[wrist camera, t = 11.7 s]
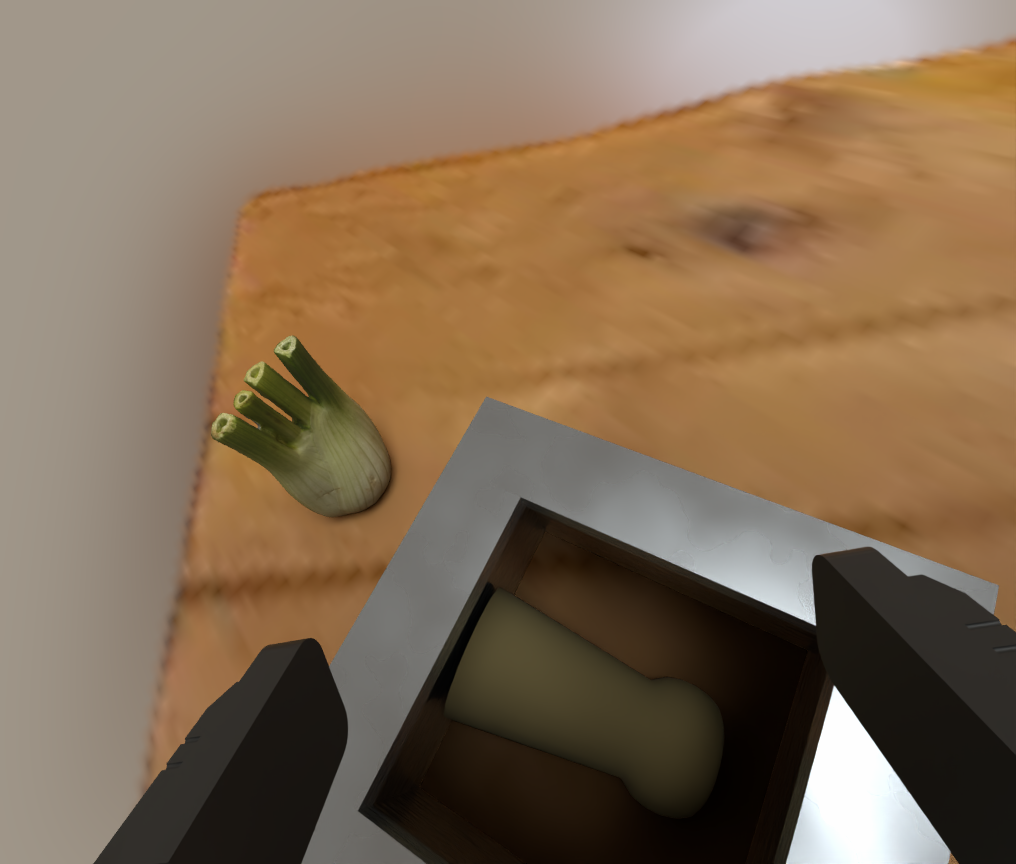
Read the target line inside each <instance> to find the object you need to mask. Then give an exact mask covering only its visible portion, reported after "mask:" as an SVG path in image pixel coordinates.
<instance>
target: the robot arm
mask: <svg viewBox="0 0 1016 864" xmlns="http://www.w3.org/2000/svg"><path fill="white" fill-rule="evenodd" d="M812 580H813V593H814V606H815V619H816V633H817V643H818V648H819V652H820V655H821V658H822V661H823V664H824V667H825V669H826V671H827V673H828V675H829V677H830V679H831V681H832V683H833V684H834V686H835V687H836V689H837V690H838V692H839V693H840V694H841V696H842V697H843V699H844V700H845V702H846V703H847V704H848V706H849V707H850V709H851V710H852V712H853V713H854V714H855V716H856V717H857V719H858V720H859V722H860V723H861V724H862V726H863V727H864V729H865V730H866V732H867V733H868V734H869V736H870V737H871V739H872V740H873V742H874V743H875V744H876V746H877V747H878V749H879V750H880V752H881V753H882V754H883V756H884V757H885V759H886V760H887V762H888V763H889V764H890V766H891V767H892V769H893V770H894V772H895V773H896V774H897V776H898V777H899V779H900V780H901V782H902V783H903V784H904V786H905V787H906V789H907V790H908V792H909V793H910V794H911V796H912V797H913V799H914V800H915V802H916V803H917V804H918V806H919V807H920V809H921V810H922V812H923V813H924V814H925V816H926V817H927V819H928V820H929V822H930V823H931V824H932V826H933V827H934V829H935V830H936V832H937V833H938V834H939V836H940V837H941V839H942V840H943V842H944V843H945V844H946V846H947V847H948V849H949V850H950V852H951V853H952V854H953V856H954V857H955V859H956V860H957V862H958V863H959V864H1016V632H1015V631H1013V630H1012V629H1011V628H1010V627H1008V626H1007V625H1001V623H1000V621H999V619H998V618H997V617H995V616H994V615H993V614H992V613H990V612H989V611H988V610H986V609H985V608H984V607H983V606H981V605H980V604H979V603H977V602H976V601H975V600H974V599H972V598H971V597H970V596H968V595H967V594H966V593H964V592H962V591H959V590H957V589H955V588H952V587H950V586H948V585H946V584H943V583H941V582H939V581H937V580H934V579H932V578H930V577H927V576H925V575H923V574H920V575H914V576H907V575H906V574H904V573H903V572H902V571H901V570H900V569H899V568H897V567H896V566H895V565H894V564H893V563H892V562H890V561H889V560H888V559H887V558H886V557H885V556H883V555H882V554H881V553H880V552H879V551H877V550H876V549H875V548H872V547H862V548H856V549H850V550H844V551H838V552H832V553H826V554H820V555H816V556H815V557H814V558H813V561H812ZM347 739H348V718H347V713H346V709H345V706H344V704H343V701H342V699H341V696H340V693H339V691H338V688H337V686H336V683H335V681H334V678H333V676H332V673H331V670H330V668H329V665H328V663H327V660H326V658H325V655H324V652H323V650H322V648H321V646H320V644H319V643H318V642H317V641H316V640H315V639H313V638H308V639H302V640H296V641H290V642H284V643H278V644H272V645H268V646H266V647H264V648H263V649H262V650H261V652H260V653H259V654H258V656H257V657H256V659H255V660H254V661H253V663H252V664H251V666H250V667H249V668H248V670H247V671H246V673H245V674H244V676H243V677H242V678H241V680H240V681H239V682H236V683H235V684H234V685H233V686H232V687H231V688H229V689H228V690H227V691H226V692H225V693H224V694H223V695H222V696H221V697H219V698H218V699H217V700H216V701H215V702H214V703H213V704H212V705H210V706H209V707H208V708H207V709H206V711H205V712H204V713H203V715H202V716H201V717H200V719H199V720H198V722H197V723H196V724H195V726H194V727H193V728H192V730H191V731H190V732H189V734H188V735H187V737H186V738H185V740H186V741H185V744H181V745H180V746H179V747H178V749H177V750H176V752H175V753H174V754H173V756H172V757H171V758H170V760H169V761H168V763H167V768H166V770H162V771H161V772H160V773H159V775H158V776H157V778H156V779H155V780H154V782H153V783H152V784H151V786H150V787H149V788H148V790H147V791H146V793H145V794H144V795H143V797H142V798H141V799H140V801H139V802H138V804H137V805H136V806H135V808H134V809H133V810H132V812H131V813H130V814H129V816H128V817H127V819H126V820H125V821H124V823H123V824H122V825H121V827H120V828H119V829H118V831H117V832H116V834H115V835H114V836H113V838H112V839H111V841H110V842H109V843H108V845H107V846H106V847H105V849H104V850H103V851H102V853H101V854H100V855H99V857H98V858H97V860H96V861H95V862H94V864H301V863H302V861H303V858H304V856H305V853H306V851H307V848H308V845H309V843H310V840H311V838H312V835H313V832H314V830H315V827H316V825H317V822H318V820H319V817H320V814H321V812H322V809H323V807H324V804H325V802H326V799H327V796H328V794H329V791H330V789H331V786H332V784H333V781H334V778H335V776H336V773H337V771H338V768H339V765H340V763H341V760H342V758H343V755H344V752H345V749H346V745H347Z"/></svg>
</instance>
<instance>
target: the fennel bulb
mask: <svg viewBox="0 0 1016 864" xmlns="http://www.w3.org/2000/svg"><path fill="white" fill-rule="evenodd" d="M274 353H275V354H276V355H277V357H278V358H279V359H280V360H281V362H282V363H283V364H284V366H285V367H286V368H287V369H288V371H289V372H290V373H291V374H292V376H293V377H294V378H295V379H296V380H297V381H298V382H299V384H300V385H301V386H302V387H303V389H304V390H305V391H306V392H307V394H308V395H309V397H307V396H305V394H303V393H302V392H301V391H300V390H299V389H297V388H296V387H295V386H294V385H292V384H291V383H289V382H288V381H287V380H285V379H284V378H283V377H282V376H281V375H280V374H279V373H277V372H276V371H275V370H274V369H272V368H271V367H270V366H269V365H267V364H266V363H265V362H259V363H258V364H256V365H254V366H253V367H251V368H250V369H249V370H248V371H247V374H246V377H245V378H244V382H246V383H247V384H248V385H249V386H250V387H252V388H253V389H255V390H256V391H257V392H259V393H260V395H261V396H263V397H265V398H267V399H268V400H270V401H271V402H273V403H274V404H275V405H276V406H278V407H279V408H280V409H282V410H283V411H284V412H285V413H287V414H288V415H289V416H291V417H292V422H291V421H290V420H288V419H287V418H286V417H284V416H283V415H281V414H280V413H278V412H277V411H275V410H274V409H273V408H271V407H270V406H269V405H267V404H266V403H264V402H263V401H262V400H261V399H260V398H258V397H257V396H256V395H255V394H254V393H253V392H251V391H244V390H242V391H241V392H239V393H238V394H237V395H236V396H235V399H234V407H235V408H236V410H238V411H239V412H240V413H241V414H243V415H244V416H245V417H246V418H248V419H251V420H252V421H254V422H255V423H256V424H257V425H258V428H256V427H254V426H252V425H250V424H248V423H247V422H245V421H243V420H242V419H240V418H238V417H236V416H234V415H232V414H226V413H221V414H220V415H219V416H218V417H217V419H216V421H214V422H213V423H212V432H211V436H212V438H213V439H214V440H216V441H218V442H220V443H222V444H224V445H226V446H228V447H230V448H232V449H235V450H236V451H238V452H239V453H241V454H243V455H245V456H247V457H248V458H251V459H252V460H254V461H255V462H257V463H259V464H260V465H262V466H263V467H265V468H266V469H267V470H268V471H270V472H271V474H272V475H273V476H274V477H275V478H276V479H277V481H279V482H280V484H281V485H282V486H283V487H284V488H285V489H286V491H287V492H288V493H289V494H290V495H291V496H292V497H293V498H295V499H296V500H297V501H298V502H300V503H301V504H303V505H304V506H305V507H307V508H309V509H310V510H312V511H314V512H316V513H318V514H321V515H323V516H326V517H338V516H342V515H346V514H349V513H357V512H360V511H363V510H365V509H367V508H369V506H371V505H373V504H375V503H376V502H377V500H378V499H379V498H380V496H381V495H382V494H383V492H384V491H385V489H386V487H387V485H388V483H389V480H390V476H391V463H390V458H389V455H388V452H387V449H386V447H385V444H384V442H383V440H382V438H381V436H380V434H379V432H378V430H377V428H376V426H375V425H374V424H373V422H372V421H371V419H370V418H369V416H368V415H367V414H366V413H365V412H364V410H363V409H362V408H361V407H360V406H359V405H358V404H357V403H356V402H355V401H354V400H353V399H351V398H350V397H349V396H348V395H347V394H346V393H345V392H344V391H343V390H342V389H341V388H340V387H339V386H338V385H337V384H336V383H335V382H334V381H333V380H332V379H331V378H330V377H329V376H328V375H327V374H326V373H325V372H324V371H323V370H322V369H321V368H320V366H319V365H318V364H317V363H316V361H315V360H314V359H313V358H312V357H311V355H310V354H309V353H308V352H307V350H306V349H305V348H304V346H303V345H302V344H301V342H300V341H299V340H298V339H297V337H295V336H289V337H287V338H286V339H285V340H283V341H281V342H280V343H279V344H278V345H277V346H276V348H275V349H274Z"/></svg>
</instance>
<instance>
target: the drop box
mask: <svg viewBox="0 0 1016 864" xmlns="http://www.w3.org/2000/svg"><path fill="white" fill-rule="evenodd" d="M544 532H547V533H549V534H552V535H554V536H556V537H558V538H560V539H563V540H565V541H567V542H569V543H572V544H574V545H576V546H578V547H580V548H583V549H585V550H587V551H589V552H591V553H594V554H596V555H598V556H600V557H602V558H605V559H607V560H609V561H611V562H613V563H616V564H618V565H620V566H622V567H625V568H627V569H629V570H631V571H633V572H636V573H638V574H640V575H642V576H644V577H647V578H649V579H651V580H653V581H655V582H658V583H660V584H662V585H664V586H667V587H669V588H671V589H673V590H675V591H678V592H680V593H682V594H684V595H686V596H689V597H691V598H693V599H695V600H697V601H700V602H702V603H704V604H706V605H708V606H711V607H713V608H715V609H717V610H720V611H722V612H724V613H726V614H728V615H731V616H733V617H735V618H737V619H739V620H742V621H744V622H746V623H748V624H750V625H753V626H755V627H757V628H759V629H761V630H764V631H766V632H768V633H770V634H773V635H775V636H777V637H779V638H781V639H784V640H786V641H788V642H790V643H792V644H795V645H797V646H799V647H801V648H803V649H806V650H808V652H807V655H806V658H805V662H804V665H803V669H802V672H801V676H800V679H799V682H798V686H797V689H796V693H795V696H794V699H793V703H792V706H791V710H790V713H789V717H788V720H787V723H786V727H785V730H784V734H783V737H782V740H781V744H780V747H779V751H778V754H777V758H776V761H775V764H774V768H773V771H772V775H771V778H770V781H769V785H768V788H767V792H766V795H765V798H764V802H763V805H762V809H761V812H760V816H759V819H758V822H757V826H756V829H755V833H754V836H753V839H752V843H751V846H750V850H749V853H748V857H747V860H746V863H745V864H948V863H949V857H950V850H949V849H948V847H947V846H946V844H945V843H944V842H943V840H942V839H941V837H940V836H939V834H938V833H937V832H936V830H935V829H934V827H933V826H932V824H931V823H930V822H929V820H928V819H927V817H926V816H925V814H924V813H923V812H922V810H921V809H920V807H919V806H918V804H917V803H916V802H915V800H914V799H913V797H912V796H911V794H910V793H909V792H908V790H907V789H906V787H905V786H904V784H903V783H902V782H901V780H900V779H899V777H898V776H897V774H896V773H895V772H894V770H893V769H892V767H891V766H890V764H889V763H888V762H887V760H886V759H885V757H884V756H883V754H882V753H881V752H880V750H879V749H878V747H877V746H876V744H875V743H874V742H873V740H872V739H871V737H870V736H869V734H868V733H867V732H866V730H865V729H864V727H863V726H862V724H861V723H860V722H859V720H858V719H857V717H856V716H855V714H854V713H853V712H852V710H851V709H850V707H849V706H848V704H847V703H846V702H845V700H844V699H843V697H842V696H841V694H840V693H839V692H838V690H837V689H836V687H835V686H834V684H833V683H832V681H831V679H830V677H829V675H828V673H827V671H826V669H825V667H824V664H823V661H822V658H821V655H820V652H819V648H818V643H817V633H816V619H815V606H814V593H813V580H812V561H813V558H814V557H815V556H816V555H820V554H826V553H832V552H838V551H844V550H850V549H856V548H862V547H872V548H875V549H876V550H877V551H879V552H880V553H881V554H882V555H883V556H885V557H886V558H887V559H888V560H889V561H890V562H892V563H893V564H894V565H895V566H896V567H897V568H899V569H900V570H901V571H902V572H903V573H904V574H906V575H907V576H914V575H920V574H923V575H925V576H927V577H930V578H932V579H934V580H937V581H939V582H941V583H943V584H946V585H948V586H950V587H952V588H955V589H957V590H959V591H962V592H964V593H966V594H967V595H968V596H970V597H971V598H972V599H974V600H975V601H976V602H977V603H979V604H980V605H981V606H983V607H984V608H985V609H986V610H988V611H989V612H990V613H992V614H993V615H994V610H995V605H996V599H997V594H998V588H999V585H996V584H993V583H991V582H988V581H985V580H983V579H980V578H977V577H974V576H972V575H969V574H966V573H964V572H961V571H958V570H955V569H953V568H950V567H947V566H945V565H942V564H939V563H936V562H934V561H931V560H928V559H926V558H923V557H920V556H917V555H915V554H912V553H909V552H907V551H904V550H901V549H898V548H896V547H893V546H890V545H888V544H885V543H882V542H879V541H877V540H874V539H871V538H869V537H866V536H863V535H860V534H858V533H855V532H852V531H850V530H847V529H844V528H841V527H839V526H836V525H833V524H831V523H828V522H825V521H822V520H820V519H817V518H814V517H812V516H809V515H806V514H803V513H801V512H798V511H795V510H793V509H790V508H787V507H784V506H782V505H779V504H776V503H774V502H771V501H768V500H765V499H763V498H760V497H757V496H755V495H752V494H749V493H746V492H744V491H741V490H738V489H736V488H733V487H730V486H727V485H725V484H722V483H719V482H717V481H714V480H711V479H708V478H706V477H703V476H700V475H698V474H695V473H692V472H689V471H687V470H684V469H681V468H679V467H676V466H673V465H670V464H668V463H665V462H662V461H660V460H657V459H654V458H651V457H649V456H646V455H643V454H641V453H638V452H635V451H632V450H630V449H627V448H624V447H622V446H619V445H616V444H613V443H611V442H608V441H605V440H603V439H600V438H597V437H594V436H592V435H589V434H586V433H584V432H581V431H578V430H575V429H573V428H570V427H567V426H565V425H562V424H559V423H556V422H554V421H551V420H548V419H546V418H543V417H540V416H537V415H535V414H532V413H529V412H527V411H524V410H521V409H518V408H516V407H513V406H510V405H508V404H505V403H502V402H499V401H497V400H494V399H491V398H489V397H486V398H485V400H484V402H483V403H482V405H481V407H480V408H479V410H478V412H477V414H476V415H475V417H474V419H473V420H472V422H471V424H470V426H469V427H468V429H467V431H466V433H465V434H464V436H463V438H462V439H461V441H460V443H459V445H458V446H457V448H456V450H455V451H454V453H453V455H452V457H451V458H450V460H449V462H448V463H447V465H446V467H445V469H444V470H443V472H442V474H441V475H440V477H439V479H438V481H437V482H436V484H435V486H434V487H433V489H432V491H431V493H430V494H429V496H428V498H427V499H426V501H425V503H424V505H423V506H422V508H421V510H420V511H419V513H418V515H417V517H416V518H415V520H414V522H413V524H412V525H411V527H410V529H409V530H408V532H407V534H406V536H405V537H404V539H403V541H402V542H401V544H400V546H399V548H398V549H397V551H396V553H395V554H394V556H393V558H392V560H391V561H390V563H389V565H388V566H387V568H386V570H385V572H384V573H383V575H382V577H381V578H380V580H379V582H378V584H377V585H376V587H375V589H374V590H373V592H372V594H371V596H370V597H369V599H368V601H367V602H366V604H365V606H364V608H363V609H362V611H361V613H360V614H359V616H358V618H357V620H356V621H355V623H354V625H353V627H352V628H351V630H350V632H349V633H348V635H347V637H346V639H345V640H344V642H343V644H342V645H341V647H340V649H339V651H338V652H337V654H336V656H335V657H334V659H333V661H332V663H331V664H330V666H329V668H330V670H331V673H332V676H333V678H334V681H335V683H336V686H337V688H338V691H339V693H340V696H341V699H342V701H343V704H344V706H345V709H346V713H347V718H348V739H347V745H346V749H345V752H344V755H343V758H342V760H341V763H340V765H339V768H338V771H337V773H336V776H335V778H334V781H333V784H332V786H331V789H330V791H329V794H328V796H327V799H326V802H325V804H324V807H323V809H322V812H321V814H320V817H319V820H318V822H317V825H316V827H315V830H314V832H313V835H312V838H311V840H310V843H309V845H308V848H307V851H306V853H305V856H304V858H303V861H302V863H301V864H527V863H525V862H524V861H523V860H521V859H520V858H518V857H517V856H516V855H514V854H513V853H511V852H510V851H508V850H507V849H506V848H504V847H503V846H501V845H500V844H499V843H497V842H496V841H494V840H493V839H492V838H490V837H489V836H487V835H486V834H485V833H483V832H482V831H480V830H479V829H478V828H476V827H475V826H473V825H472V824H470V823H469V822H468V821H466V820H465V819H463V818H462V817H461V816H459V815H458V814H456V813H455V812H454V811H452V810H451V809H449V808H448V807H447V806H445V805H444V804H442V803H441V802H439V801H438V800H437V799H435V798H434V797H432V796H431V795H430V794H428V793H427V792H425V791H424V790H423V789H421V788H420V785H421V783H422V781H423V779H424V777H425V775H426V772H427V770H428V768H429V766H430V764H431V762H432V760H433V758H434V756H435V754H436V752H437V750H438V748H439V746H440V744H441V742H442V740H443V738H444V736H445V734H446V732H447V730H448V728H449V726H450V724H451V722H452V720H451V719H448V718H445V717H444V715H443V714H444V708H445V703H446V700H447V697H448V693H449V690H450V687H451V684H452V682H453V679H454V676H455V674H456V671H457V668H458V666H459V663H460V661H461V659H462V656H463V654H464V651H465V649H466V647H467V644H468V642H469V640H470V638H471V636H472V634H473V631H474V629H475V627H476V625H477V623H478V621H479V619H480V617H481V615H482V613H483V611H484V609H485V608H486V606H487V604H488V602H489V601H490V599H491V597H492V596H493V594H494V593H495V591H496V590H497V589H498V588H499V587H501V588H503V589H504V590H506V591H508V592H509V593H511V594H513V595H514V593H515V591H516V589H517V587H518V585H519V583H520V581H521V579H522V577H523V575H524V573H525V571H526V569H527V567H528V565H529V563H530V561H531V559H532V557H533V555H534V553H535V551H536V549H537V547H538V544H539V542H540V540H541V538H542V536H543V534H544Z"/></svg>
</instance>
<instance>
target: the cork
mask: <svg viewBox="0 0 1016 864" xmlns="http://www.w3.org/2000/svg"><path fill="white" fill-rule="evenodd" d="M443 715H444V717H445V718H448V719H451V720H454V721H456V722H459V723H462V724H465V725H468V726H471V727H474V728H477V729H480V730H483V731H485V732H488V733H491V734H494V735H497V736H500V737H503V738H506V739H509V740H512V741H515V742H517V743H520V744H523V745H526V746H529V747H532V748H535V749H538V750H541V751H544V752H546V753H549V754H552V755H555V756H558V757H561V758H564V759H567V760H570V761H573V762H576V763H578V764H581V765H584V766H587V767H590V768H593V769H596V770H599V771H602V772H605V773H607V774H610V775H613V776H616V777H619V778H621V779H622V781H623V783H624V784H625V786H626V787H627V789H628V791H629V792H630V794H631V796H632V797H633V798H635V799H636V800H637V801H638V802H639V803H640V804H641V805H643V806H644V807H645V808H647V809H649V810H651V811H653V812H654V813H656V814H658V815H662V816H666V817H671V818H678V819H679V818H686V817H692V816H693V815H694V814H695V813H696V812H697V811H698V810H700V809H701V808H702V807H703V806H704V804H705V803H706V801H707V799H708V798H709V796H710V794H711V792H712V789H713V787H714V784H715V782H716V778H717V775H718V772H719V768H720V764H721V759H722V754H723V746H724V724H723V720H722V716H721V713H720V710H719V707H718V706H717V705H716V703H715V702H714V701H713V700H712V698H711V697H710V696H709V695H707V694H706V693H705V692H703V691H702V690H701V689H699V688H698V687H696V686H695V685H693V684H691V683H688V682H686V681H684V680H681V679H676V678H671V677H663V678H658V679H653V680H650V679H648V678H647V677H645V676H643V675H642V674H640V673H639V672H637V671H635V670H634V669H632V668H631V667H629V666H627V665H626V664H624V663H622V662H621V661H619V660H618V659H616V658H614V657H613V656H611V655H610V654H608V653H606V652H605V651H603V650H601V649H600V648H598V647H597V646H595V645H593V644H592V643H590V642H588V641H587V640H585V639H584V638H582V637H580V636H579V635H577V634H576V633H574V632H572V631H571V630H569V629H567V628H566V627H564V626H563V625H561V624H559V623H558V622H556V621H555V620H553V619H551V618H550V617H548V616H546V615H545V614H543V613H542V612H540V611H538V610H537V609H535V608H534V607H532V606H530V605H529V604H527V603H525V602H524V601H522V600H521V599H519V598H517V597H516V596H514V595H513V594H511V593H509V592H508V591H506V590H504V589H503V588H501V587H499V588H498V589H497V590H496V591H495V593H494V594H493V596H492V597H491V599H490V601H489V602H488V604H487V606H486V608H485V609H484V611H483V613H482V615H481V617H480V619H479V621H478V623H477V625H476V627H475V629H474V631H473V634H472V636H471V638H470V640H469V642H468V644H467V647H466V649H465V651H464V654H463V656H462V659H461V661H460V663H459V666H458V668H457V671H456V674H455V676H454V679H453V682H452V684H451V687H450V690H449V693H448V697H447V700H446V703H445V708H444V714H443Z"/></svg>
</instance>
